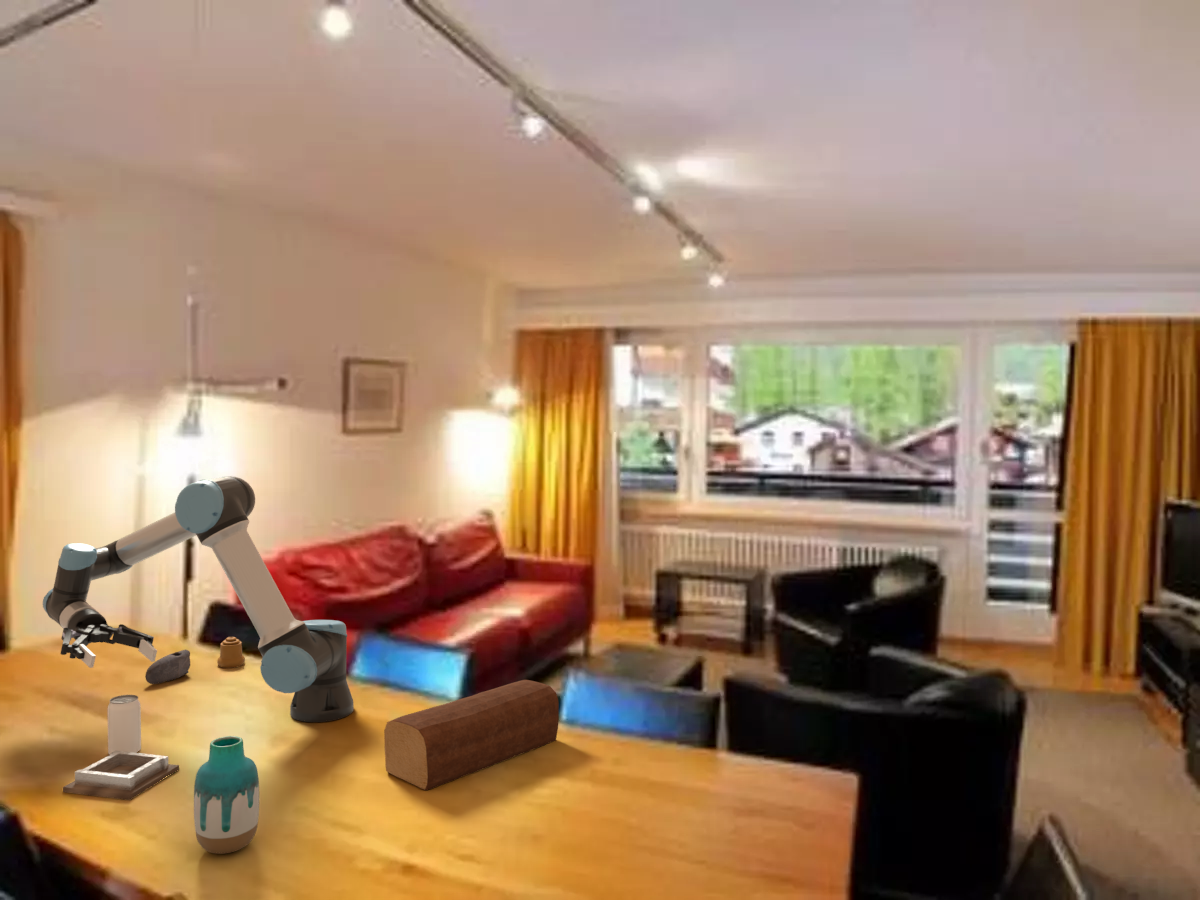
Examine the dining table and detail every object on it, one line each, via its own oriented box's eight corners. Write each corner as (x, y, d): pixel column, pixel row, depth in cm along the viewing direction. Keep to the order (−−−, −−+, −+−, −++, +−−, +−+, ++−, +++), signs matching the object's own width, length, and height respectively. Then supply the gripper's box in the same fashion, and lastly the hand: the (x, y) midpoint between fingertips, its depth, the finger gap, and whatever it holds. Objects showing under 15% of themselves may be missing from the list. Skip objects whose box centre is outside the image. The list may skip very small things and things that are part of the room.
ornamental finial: (248, 665, 269) (222, 670, 264) (239, 659, 275) (213, 664, 270) (248, 638, 269) (222, 642, 264) (239, 633, 274) (213, 637, 269)
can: (127, 759, 200) (126, 704, 199) (101, 756, 201) (100, 702, 200) (147, 748, 206) (147, 695, 205) (122, 745, 207) (121, 692, 207)
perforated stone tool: (152, 689, 246) (152, 663, 246) (138, 686, 248) (138, 661, 248) (197, 674, 260) (197, 649, 260) (183, 671, 262) (183, 647, 262)
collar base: (179, 769, 195) (179, 765, 195) (129, 800, 180) (129, 795, 180) (116, 762, 198) (116, 758, 198) (62, 792, 183) (62, 787, 183)
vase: (206, 834, 167) (205, 730, 166) (266, 833, 168) (266, 729, 166) (184, 864, 156) (183, 753, 155) (249, 862, 157) (248, 752, 156)
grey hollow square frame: (168, 767, 193) (168, 756, 193) (130, 790, 182) (130, 778, 182) (115, 762, 196) (115, 750, 195) (74, 784, 184) (74, 771, 184)
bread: (560, 742, 215) (561, 685, 214) (426, 794, 185) (427, 729, 185) (514, 725, 225) (515, 671, 224) (381, 773, 196) (381, 710, 195)
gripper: (133, 634, 229) (174, 668, 216) (22, 642, 209) (61, 680, 196) (139, 605, 228) (181, 638, 215) (29, 610, 208) (68, 647, 196)
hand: (124, 658), depth 206 cm, fingers open, 13 cm apart
